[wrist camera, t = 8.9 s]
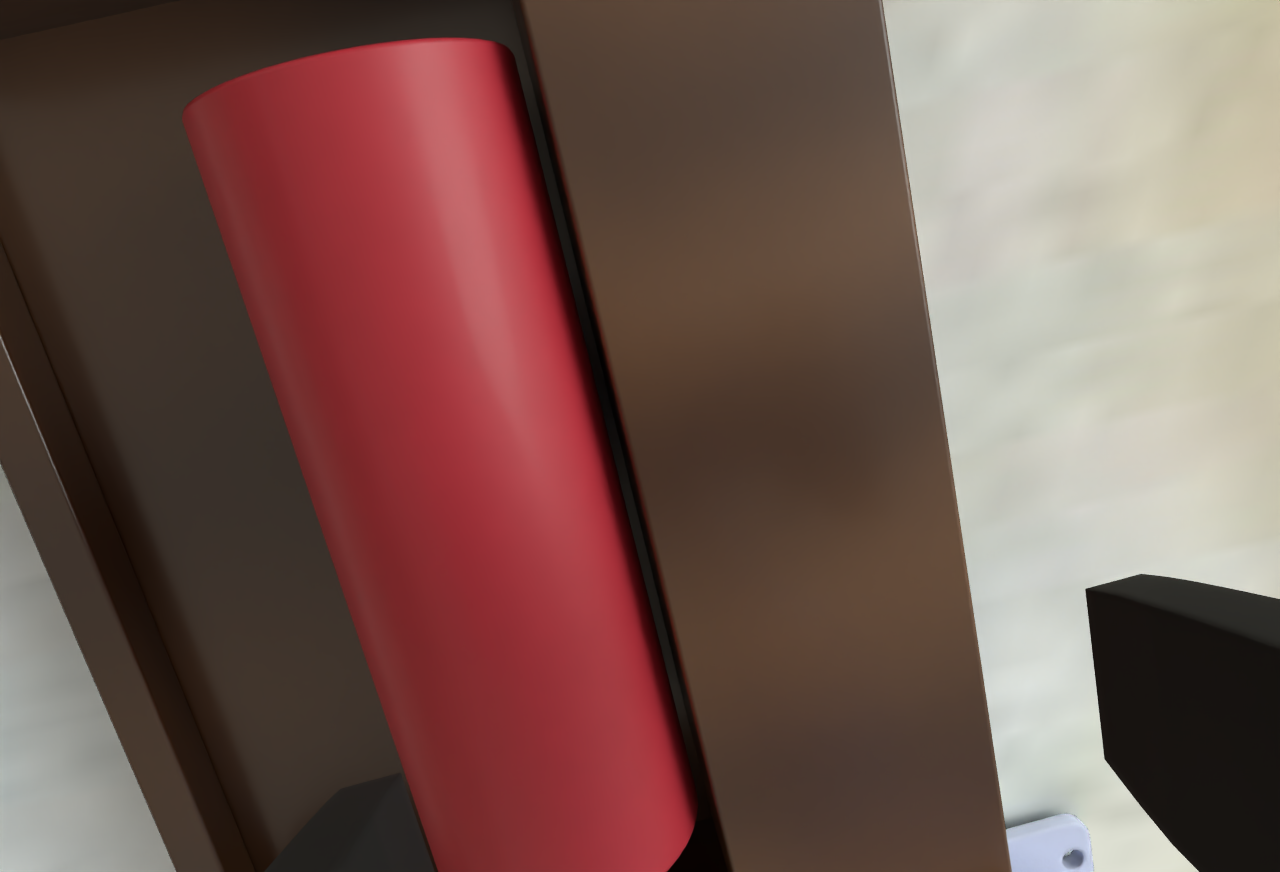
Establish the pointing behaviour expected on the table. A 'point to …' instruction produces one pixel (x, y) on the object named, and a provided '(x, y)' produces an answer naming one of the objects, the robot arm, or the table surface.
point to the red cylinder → (454, 446)
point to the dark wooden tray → (628, 391)
